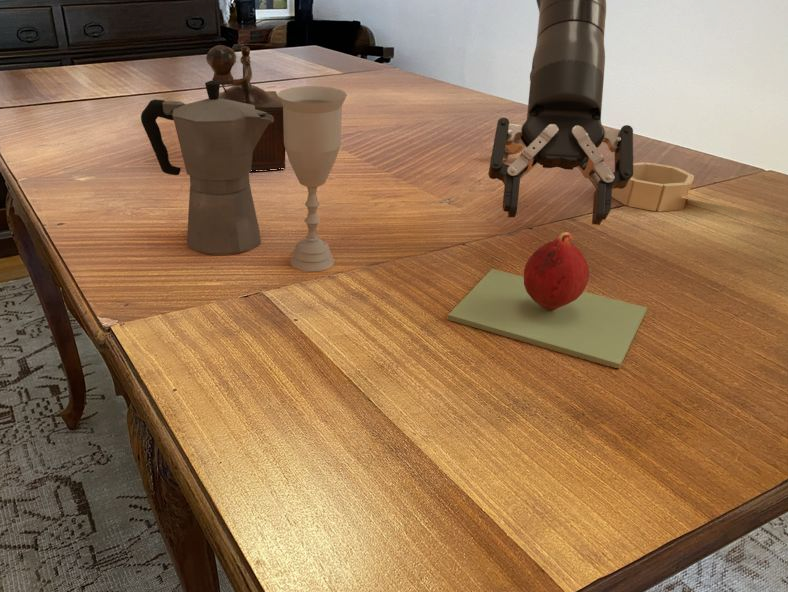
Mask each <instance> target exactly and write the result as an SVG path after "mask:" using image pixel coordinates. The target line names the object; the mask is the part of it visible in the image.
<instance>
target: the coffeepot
mask: <svg viewBox="0 0 788 592" xmlns="http://www.w3.org/2000/svg"><path fill="white" fill-rule="evenodd" d="M204 86H205V89H206V93H207V96H208V98H205V99H200V100H198V101H192V102H189V103H184V102H182V101H179V100H164V99H157V98H156V99H151V100H150V101H149V102H148V103H147V105H146V106H145V108H144V109H143V111H142V112H141V113H140V114H141V115H140V121H141V124H142V127H143V129H144V131H145V133H146V135H147V138H148V141H149V143H150V146H151V147H152V149H153V152H154V154H155V157H156V160H157V161H158V164H159V166H160V168H161V171H162V172H163V173H164V174H166V175H170V176H178V175H180V173H181V170H182V167H178V166H175V165H173V164H171V162H170V157H169V152H168V148H167V146H166V144H165V142H164V141H163V136H162V133H161V129H160V126H159V124H158V122H157V119H158V118H162V119H165V120H169V121H172V122H174V127H175V131H176V135H177V140H178V144H179V147H180V151H181V156H182V160H183V163H184V164H183V165H184V167H185V171H186V172H185V173H186V175H188V176H189V185H190V186H189V195H188V196H189V197H188V213H187V215H188V217H187V233H186V246H187V247H188V248H190V249H192V250H193V251H195V252H197V253H200V254H204V255H208V256H209V255H211V256H231V255H236V254H241V253H245V252H248V251H250V250H253V249H254V248H255V247H257V246H258V245H259V244H260V243H261V242H262V240H261V239H262V238H261V232H260V227H259V222H258V217H257V213H256V208H255V202H254V198H253V194H252V189H251V184H250V173H252V172H251V165H252V154H253V151H254V149H255V147H256V145H257V143H258V141H259V139H260V137H261V136H262V134H263V132H264V130H265V129H266V127H267V126H268V124H270V123H273V122H274V119H273V117H272V115H270V114H267V112H263V111H259V110H256V109H255V105H251V104H246V103H241V102H236V101H232V100H226V99H221V98H219V92H220V88H221V87H220V86H221V85H220V82H217V81H213V80H212V79H211V80H208V81H206V82H205V83H204Z"/></svg>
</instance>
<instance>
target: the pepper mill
mask: <svg viewBox="0 0 788 592" xmlns="http://www.w3.org/2000/svg"><path fill="white" fill-rule="evenodd" d="M240 51H241V57H240V59H239V60H240V63H241V64H242V78H237V79H234V76H233V74H232V69H233V67H234V65H235V64H236V62H237V55H236V52H235V51H234V49H232V48H231V47H229V46H226V45H222V44H221V45H220V44H219V45H214V46H213V47H211V48H210V49H209V50H208V52H207V53H206V57H205V59H206V63H207V64H208V65H209V67H210V68H211V70H212V71H213V77H212V78H211V81H212V80H213V81H217V82H220V86H221V87H222V89H223V91H221V92H220V91H219V98H221V99H226V100H232V101H236V102H241V103H246V104H251V105H255V109H256V110H259V111H263V112H267V114H270V115H272V117H273V119H274V122H273V123H270V124H268V126H267V127H266V129H265V130H264V132H263V134H262V136H261V137H260V139H259V141H258V143H257V145H256V147H255V149H254V151H253V154H252V165H251V170H252V171H256V170H270V169H279V168H280V169H281V168H285V169H286V149H285V146H284V123H283V105H282V103H281V101H280V99H279V96H278V93H277V91H275V90H264V89H263V88H261V87H258V86H257V85H253V84H252V83H251V80H252V78H253V70H252V66H251V65H252V64H251V63H252V61H251V60H250V59H251V56H250V54H251V48H250V47H249V46H245V45H244V46H242V47H241V49H240ZM225 86H231V87H229V88H226V87H225Z"/></svg>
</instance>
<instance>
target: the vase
mask: <svg viewBox="0 0 788 592" xmlns="http://www.w3.org/2000/svg"><path fill="white" fill-rule="evenodd" d="M525 149H526V146H525V145H524V143H523V142H522V140H521V138H520V137H516V138H515V139H514V141H513V143H512V144H511V145H505V151H504V156H503V162H504V161H506V160H508V159H509V157H510V156H512V157H513V158H514V155H517V154H520V153H522V152H523V151H524V150H525Z"/></svg>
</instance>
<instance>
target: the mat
mask: <svg viewBox="0 0 788 592" xmlns="http://www.w3.org/2000/svg"><path fill="white" fill-rule="evenodd" d="M647 310H648V307H647V306H644V305H639V304H636V303H631V302H627V301H623V300H619V299H616V298H611V297H608V296H604V295H603V296H602V295H599V294H595V293H591V292H587V291H583V293H582V294H581V295H580V296H579V297H578V298H577V299H576V300H575V301H573V302H571V303H569V304H567V305H565V306H562V307H559V308H557V309H555V310H553V311H549V310H546V309H544V308H543V307H541V306H540V305H539V304H537V303H536V302H535V301H534V300H533V299H532V298H531V297H530V295H529V294H528V293H527V292H526V289H525V286H524V275H523V276H522V275H519V274H514V273H510V272H506V271H503V270H498V269H495V268H491V269H490V270H489V271H488V272H487V273H486V275H484V276H483V278H481V280H480V281H479V282H478V283H477V284H476V285H475V286H474V287H473V288H472V289H471V290H470V291H469V292H468V293H467V294H466V296H465V297H463V298H462V299H461V301H460V302H459V303H458V304H457V305H456V306H455V307H454V308H453V309H452V310H451V311H450V312H449V313H448V314H447V320H448V321H451V322H454V323H458V324H460V325H465V326H467V327H471V328H474V329H478V330H481V331H485V332H489V333H492V334H495V335H498V336H502V337H505V338H509V339H512V340H516V341H519V342H522V343H526V344H530V345H533V346H536V347H539V348H543V349H547V350H550V351H553V352H558V353H561V354H564V355H567V356H571V357H574V358H578V357H579V358H578V359H582V360H584V359H586V360H585V361H588V360H589V361H588V362H591V361H593V362H592V363H595V362H598V363H600V364H599V365H602V364H604V365H603V366H605V365H609V366H611V367H610V368H612V367H614V368H613V369H615V368H619V369H620V368H621V366H622V364H623V362H624V360H625V357H626V356H627V353H628V351H629V349H630V347H631V345H632V344H633V341H634V338H635V336H636V335H637V332H638V331H639V328H640V326H641V324H642V321H643V319H644V317H645V315H646V313H647ZM598 363H597V364H598ZM609 366H608V367H609Z"/></svg>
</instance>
